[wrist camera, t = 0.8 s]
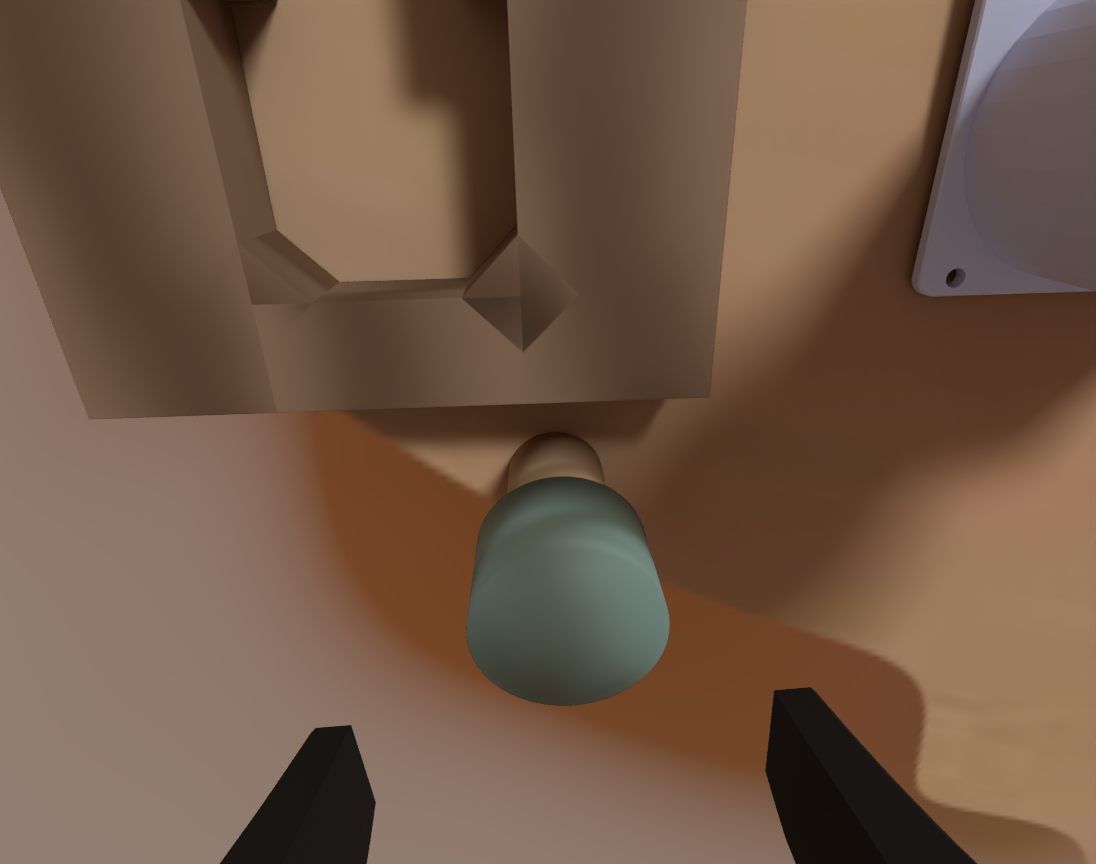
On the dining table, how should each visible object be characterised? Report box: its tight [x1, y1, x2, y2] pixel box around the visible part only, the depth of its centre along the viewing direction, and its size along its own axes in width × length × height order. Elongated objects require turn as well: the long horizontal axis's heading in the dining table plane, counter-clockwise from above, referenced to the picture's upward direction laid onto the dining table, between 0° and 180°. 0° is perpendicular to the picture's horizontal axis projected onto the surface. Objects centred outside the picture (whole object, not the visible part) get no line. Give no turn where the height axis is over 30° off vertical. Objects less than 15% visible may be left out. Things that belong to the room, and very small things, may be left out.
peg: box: [466, 432, 670, 706], centre depth 16 cm, size 4×4×7 cm
